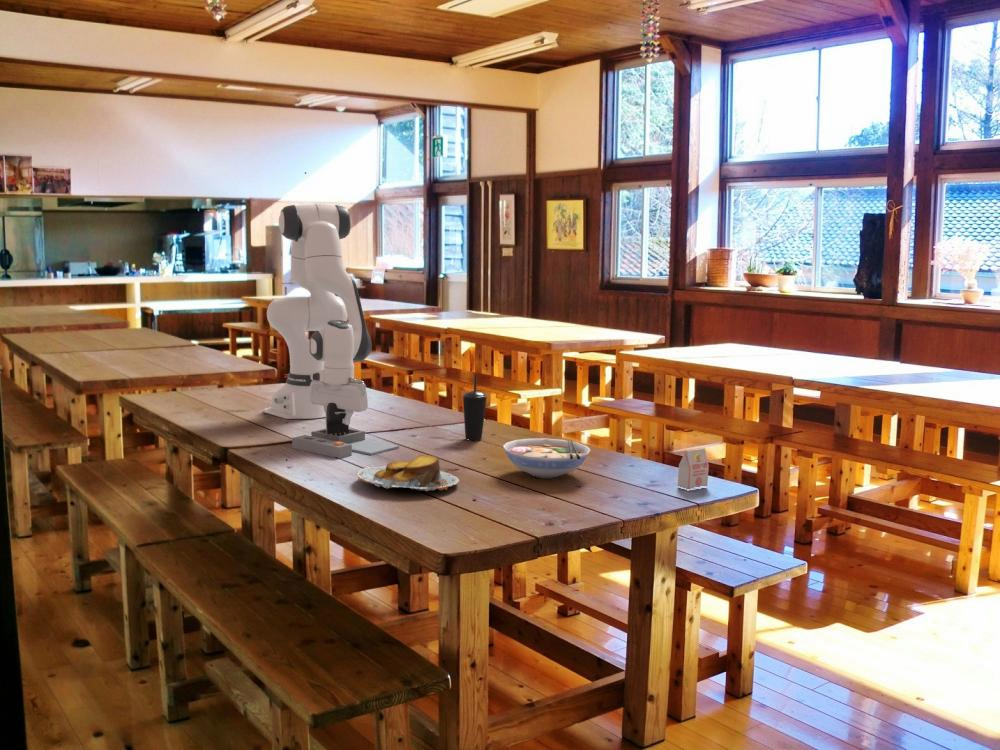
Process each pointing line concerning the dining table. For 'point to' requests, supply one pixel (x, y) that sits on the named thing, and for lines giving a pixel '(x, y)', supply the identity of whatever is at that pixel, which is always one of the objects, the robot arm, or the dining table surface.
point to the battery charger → (335, 420)
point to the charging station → (328, 442)
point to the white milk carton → (693, 469)
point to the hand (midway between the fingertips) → (338, 422)
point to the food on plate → (409, 474)
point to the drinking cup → (474, 412)
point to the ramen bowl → (546, 456)
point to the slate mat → (372, 447)
